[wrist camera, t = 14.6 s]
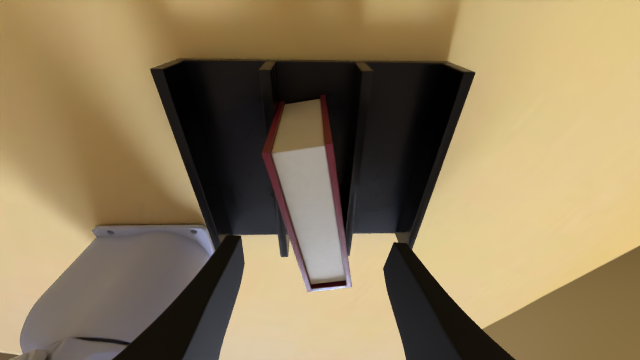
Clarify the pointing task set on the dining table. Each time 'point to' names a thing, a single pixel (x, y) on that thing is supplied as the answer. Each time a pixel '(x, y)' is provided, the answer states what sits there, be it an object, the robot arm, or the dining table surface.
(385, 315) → the dining table surface
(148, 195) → the dining table surface
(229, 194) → the rack
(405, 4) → the dining table surface
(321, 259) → the book
